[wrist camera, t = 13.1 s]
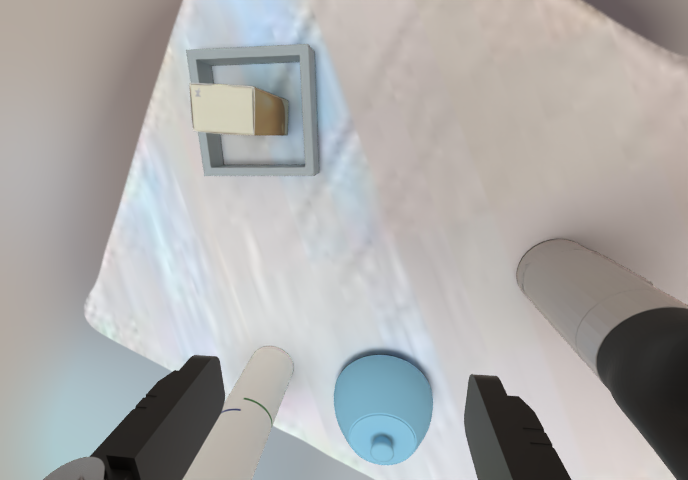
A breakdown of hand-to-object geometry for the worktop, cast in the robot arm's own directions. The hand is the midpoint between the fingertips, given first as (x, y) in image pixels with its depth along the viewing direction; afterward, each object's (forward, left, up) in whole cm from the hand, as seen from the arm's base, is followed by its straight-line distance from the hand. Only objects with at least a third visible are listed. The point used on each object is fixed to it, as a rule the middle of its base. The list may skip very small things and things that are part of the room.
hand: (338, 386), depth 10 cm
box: (+14, -10, -34) cm, 38 cm away
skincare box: (+14, -10, -34) cm, 38 cm away
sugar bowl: (-2, +31, -34) cm, 46 cm away
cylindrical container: (+16, +28, -34) cm, 47 cm away
